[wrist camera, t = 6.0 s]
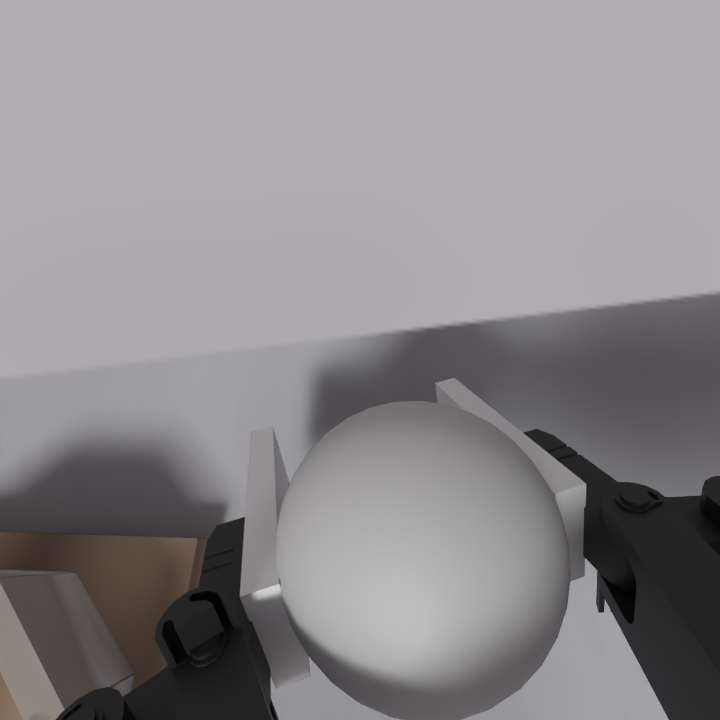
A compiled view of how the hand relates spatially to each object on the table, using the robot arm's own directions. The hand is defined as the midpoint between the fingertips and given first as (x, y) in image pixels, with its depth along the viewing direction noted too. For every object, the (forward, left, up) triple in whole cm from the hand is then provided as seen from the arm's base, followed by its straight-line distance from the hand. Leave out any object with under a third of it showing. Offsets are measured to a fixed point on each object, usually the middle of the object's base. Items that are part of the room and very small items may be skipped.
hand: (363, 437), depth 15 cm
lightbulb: (-1, +3, -4) cm, 5 cm away
